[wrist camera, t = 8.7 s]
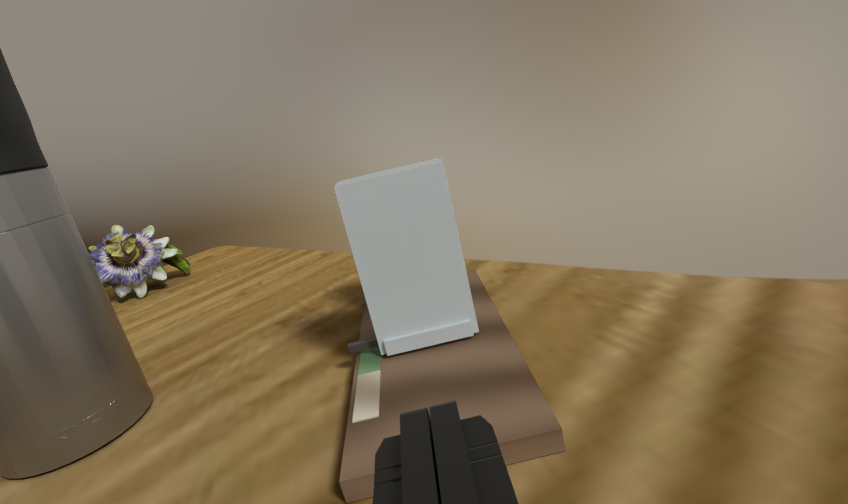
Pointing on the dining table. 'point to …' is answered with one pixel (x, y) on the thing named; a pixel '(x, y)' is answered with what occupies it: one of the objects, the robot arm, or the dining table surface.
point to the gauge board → (446, 394)
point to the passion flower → (134, 260)
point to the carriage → (408, 257)
